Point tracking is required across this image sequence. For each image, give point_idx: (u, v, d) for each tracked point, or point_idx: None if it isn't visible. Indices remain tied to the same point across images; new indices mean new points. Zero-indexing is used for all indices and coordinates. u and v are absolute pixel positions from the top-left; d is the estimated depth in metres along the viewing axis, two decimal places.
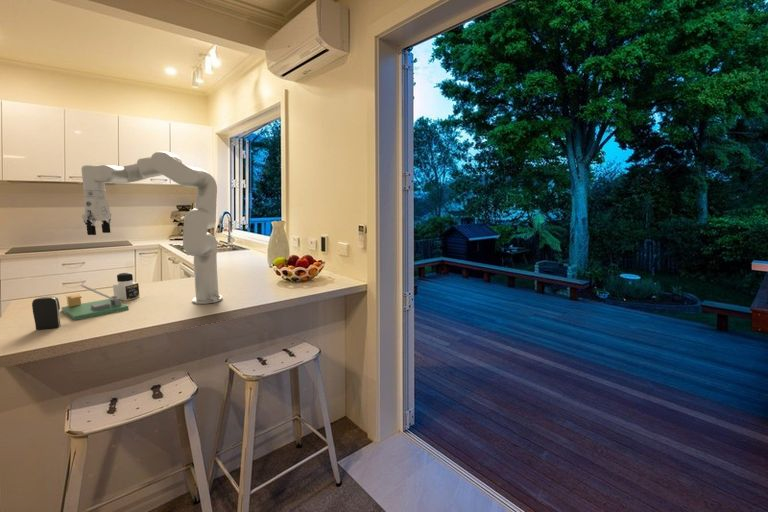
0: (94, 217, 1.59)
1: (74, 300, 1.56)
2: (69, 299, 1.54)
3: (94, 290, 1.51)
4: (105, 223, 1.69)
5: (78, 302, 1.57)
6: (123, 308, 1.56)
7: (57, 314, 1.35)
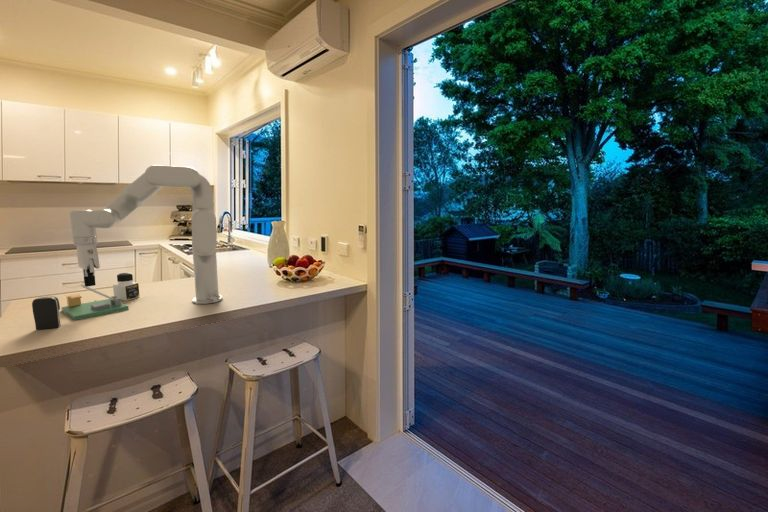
0: (97, 265, 1.48)
1: (74, 300, 1.56)
2: (69, 299, 1.54)
3: (94, 290, 1.51)
4: None
5: (78, 302, 1.57)
6: (123, 308, 1.56)
7: (57, 314, 1.35)
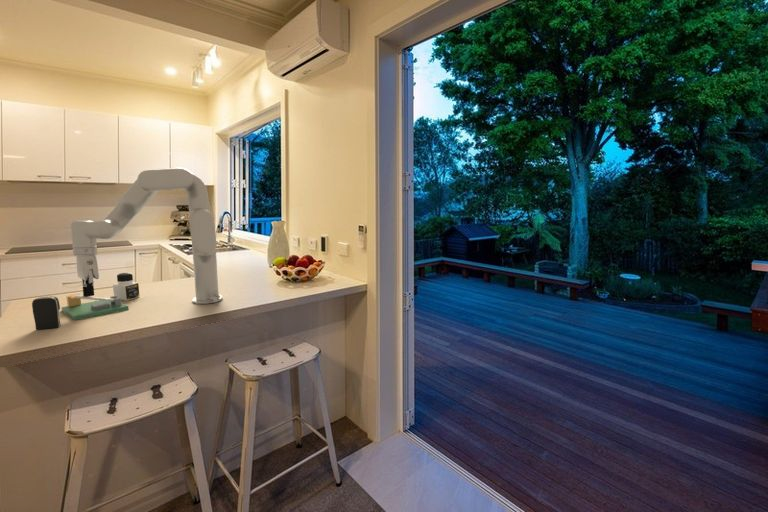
0: (96, 275, 1.49)
1: (74, 300, 1.56)
2: (69, 299, 1.54)
3: (90, 297, 1.50)
4: None
5: (78, 302, 1.57)
6: (123, 308, 1.56)
7: (57, 314, 1.35)
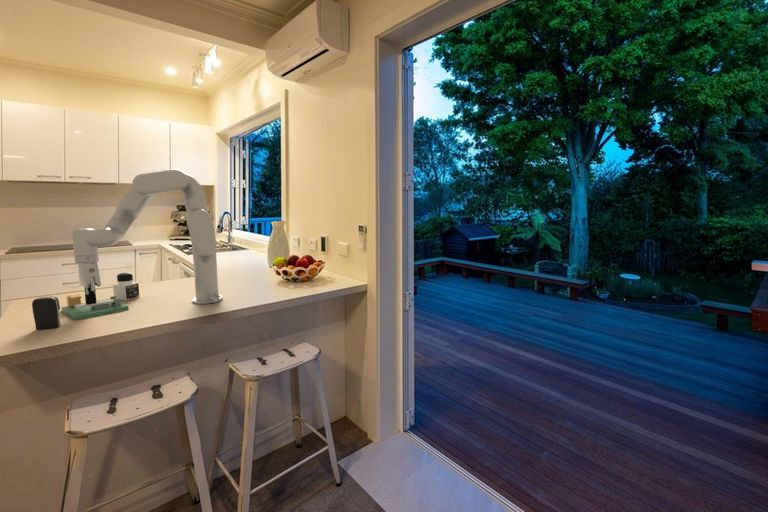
0: (98, 283, 1.49)
1: (74, 300, 1.56)
2: (69, 299, 1.54)
3: (89, 304, 1.50)
4: None
5: (78, 302, 1.57)
6: (123, 308, 1.56)
7: (57, 314, 1.35)
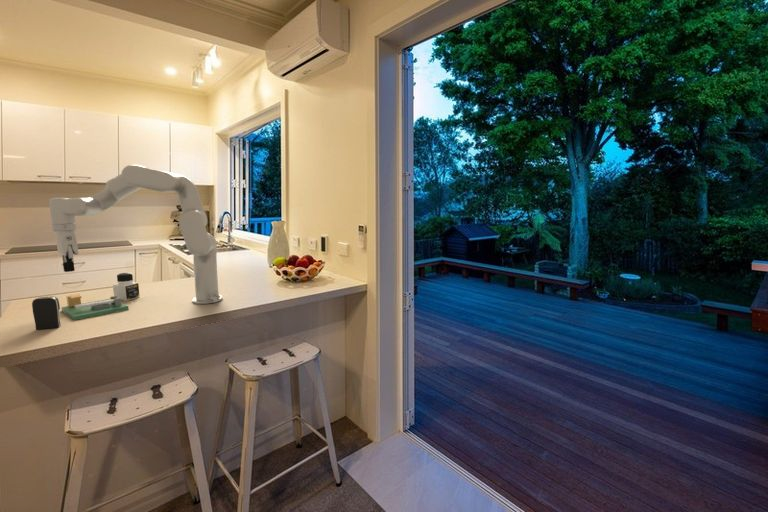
0: (76, 251, 1.54)
1: (74, 300, 1.56)
2: (69, 299, 1.54)
3: (89, 304, 1.50)
4: None
5: (78, 302, 1.57)
6: (123, 308, 1.56)
7: (57, 314, 1.35)
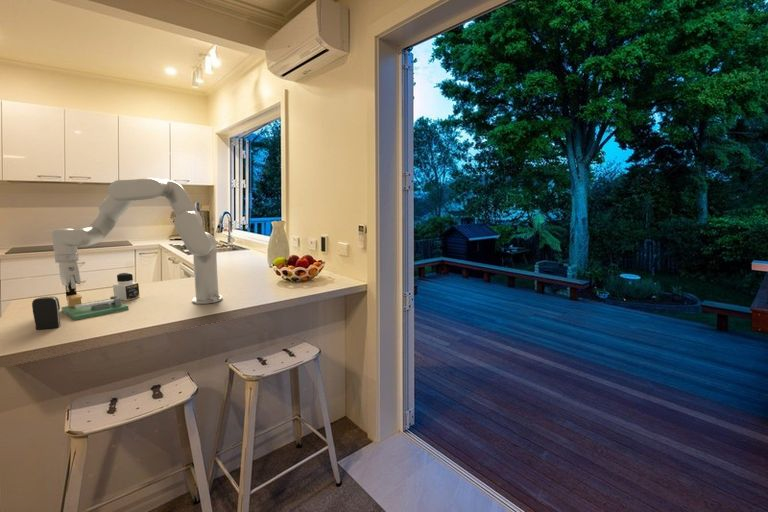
0: (78, 281, 1.56)
1: (74, 300, 1.55)
2: (69, 299, 1.54)
3: (89, 304, 1.50)
4: None
5: (78, 302, 1.57)
6: (123, 308, 1.56)
7: (57, 314, 1.35)
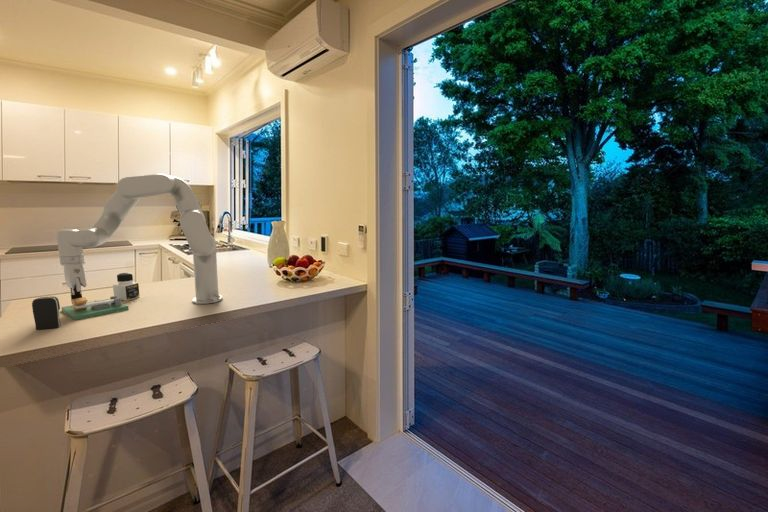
0: (84, 283, 1.51)
1: None
2: (75, 303, 1.49)
3: (89, 304, 1.50)
4: None
5: None
6: (123, 308, 1.56)
7: (57, 314, 1.35)
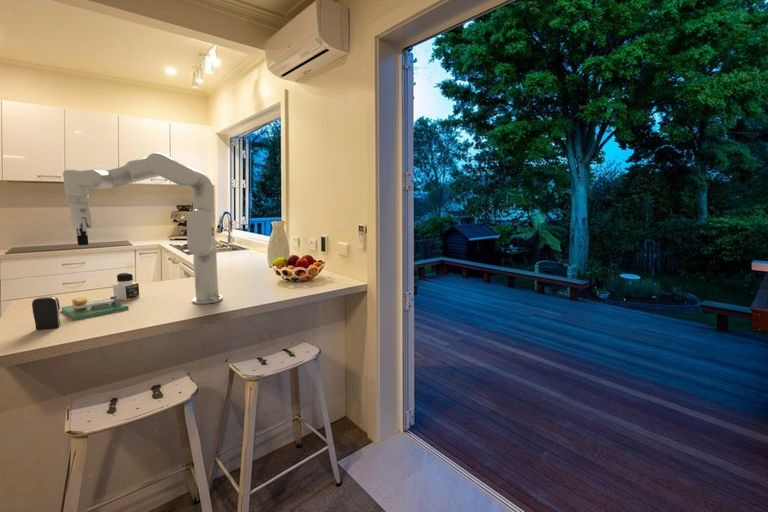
0: (90, 224, 1.53)
1: None
2: (75, 303, 1.49)
3: (89, 304, 1.50)
4: None
5: None
6: (123, 308, 1.56)
7: (57, 314, 1.35)
